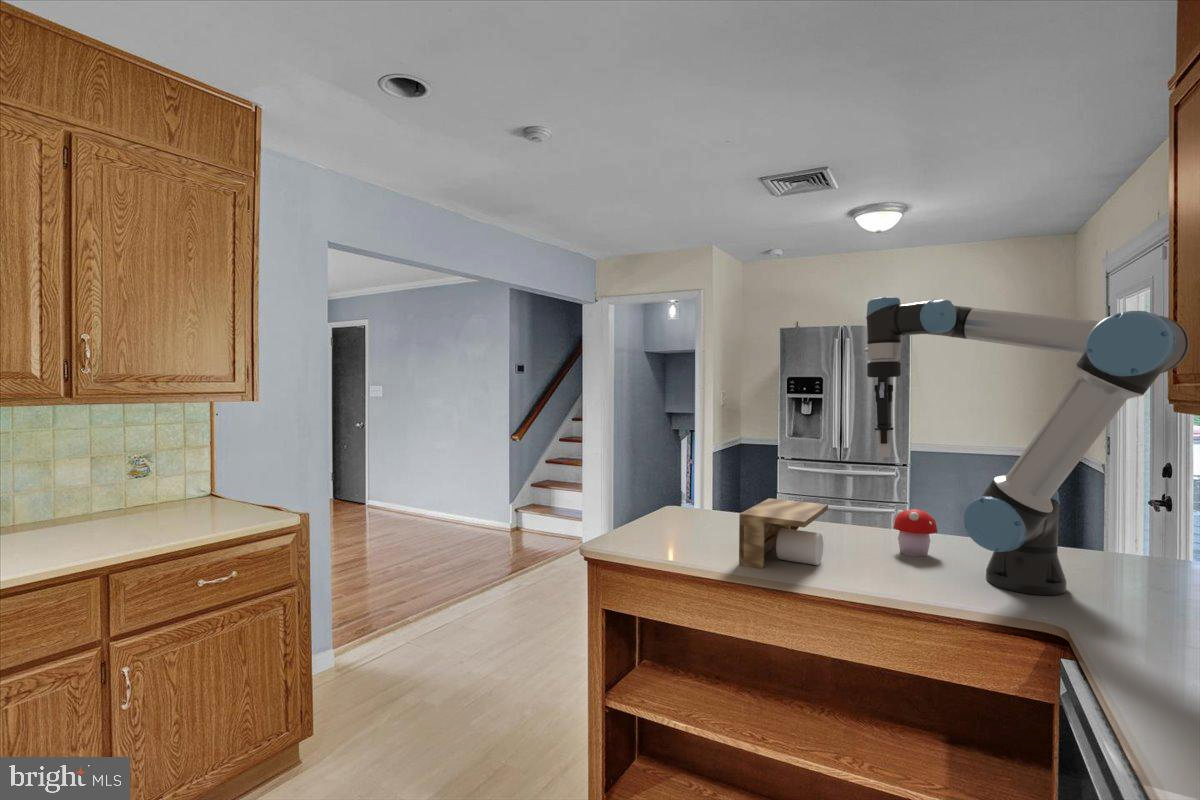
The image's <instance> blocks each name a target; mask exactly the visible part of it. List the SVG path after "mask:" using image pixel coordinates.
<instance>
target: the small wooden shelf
mask: <svg viewBox="0 0 1200 800" xmlns="http://www.w3.org/2000/svg"><path fill="white" fill-rule="evenodd" d="M828 510H829V504H825V503H817V502H809V501H807V502H806V501H796V500H788V499H780V498H779V499H778V498H767V499H765V500H763V501H761V502H759V503H757V504H756V505H754V506H752V507H749V508H748V509H746V510H744V511H742V512H740V513H739V517H738V518H739V522H738V523H739V528H738V529H739V533H738V538H739V539H738V548H739V549H738V565H739V566H744V567H745V566H746V567H750V568H751V567H752V568H756V569H764V568H765V555H766V554H768V553H769V552H770V551H772V550H773V549H775V548H776V540H777V535H778V532H779V530H780V529H781V528H785V529H790V526H796V527H799V528H806V527H807V526H809V525H810V524H811V523H812V522H814V521H815V520H817V519H818V518H819V517H821V516H822V515H823V514H825V512H827V511H828Z"/></svg>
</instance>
